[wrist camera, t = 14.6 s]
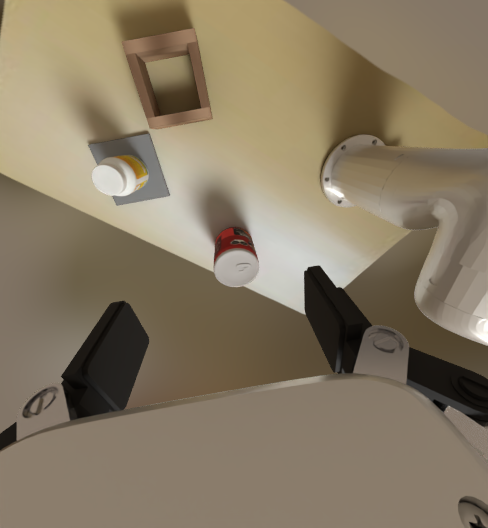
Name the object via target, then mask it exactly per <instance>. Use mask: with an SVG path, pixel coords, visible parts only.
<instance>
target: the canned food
mask: <svg viewBox="0 0 488 528" xmlns="http://www.w3.org/2000/svg"><path fill="white" fill-rule="evenodd" d="M258 272H259V261H258V258H257V254H256V251H255V248H254V244H253V241H252V238H251V236H250V235H249V233H248V232H246V231H245V230H243V229H241V228H237V227H232V228H228V229H226V230H224V231H223V232H221V233H220V234H219V236H218V237H217V239H216V243H215V254H214V273H215V276H216V278H217V279H218V280H219V281H220V282H221V283H222V284H224V285H226V286H231V287H240V286H244V285H247V284H249V283H250V282H252V281H253V280H254V279H255V278H256V276H257V274H258Z"/></svg>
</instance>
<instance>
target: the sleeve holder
mask: <svg viewBox="0 0 488 528" xmlns="http://www.w3.org/2000/svg"><path fill="white" fill-rule="evenodd" d="M122 45H123V48H124V51H125V54H126V57H127V60H128V63H129V66H130V69H131V72H132V75H133V78H134V81H135V84H136V88H137V91H138V94H139V97H140V100H141V103H142V106H143V109H144V112H145V115H146V118H147V121H148V124H149V127H150V128H151V129H162V128H167V127H172V126H178V125H183V124H189V123H194V122H199V121H205V120H210V119H213V118H212V113H211V108H210V103H209V98H208V93H207V88H206V82H205V77H204V72H203V67H202V62H201V57H200V51H199V46H198V41H197V37H196V33H195V29H194V28H192V29H186V30H181V31H176V32H170V33H165V34H160V35H154V36H149V37H144V38H138V39H133V40H128V41H122ZM188 54H190V57H191V62H192V67H193V71H194V76H195V81H196V86H197V90H198V95H199V100H200V104H201V109H196V110H190V111H185V112H179V113H174V114H169V115H163V116H161V115H160V112H159V108H158V105H157V102H156V98H155V95H154V92H153V88H152V85H151V82H150V78H149V75H148V71H147V68H146V65H145V62H151V61H156V60H161V59H167V58H172V57H177V56H183V55H188Z"/></svg>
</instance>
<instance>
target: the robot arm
mask: <svg viewBox="0 0 488 528" xmlns="http://www.w3.org/2000/svg"><path fill="white" fill-rule="evenodd" d="M372 141H373V142H372ZM341 147H342V149H341ZM325 178H326V179H325ZM321 187H322V190H323V193H324V195H325V196H326V198H327V199H328V200H329V201H330V202H332V203H333V204H335V205H337V206H341V207H353V206H358V207H360V208H362V209H364V210H366V211H368V212H370V213H372V214H374V215H376V216H378V217H380V218H382V219H384V220H386V221H388V222H390V223H392V224H394V225H396V226H398V227H401V228H404V229H409V230H424V229H429V228H434V227H438V230H437V233H436V235H435V238H434V240H433V245H432V247H431V249H430V252H429V254H428V256H427V259H426V261H425V263H424V266H423V268H422V271H421V273H420V276H419V278H418V281H417V284H416V287H415V293H414V296H415V301H416V304H417V306H418V307H419V309H420V310H421V311H422V312H423V314H425V315H426V316H427V317H428V318H429V319H431V320H432V321H434V322H435V323H437V324H438V325H440V326H442V327H444V328H445V329H447V330H449V331H452V332H454V333H456V334H458V335H461V336H463V337H465V338H468V339H470V340H473V341H476V342H478V343H481V344H484V345H487V346H488V148H484V149H444V148H421V147H399V146H385V144H384V143H383V142H382V141H381V140H380V139H379V138H377V137H375V136H372V135H356V136H352V137H350V138H347V139H346V140H344V141H343V142H341V143H340V144H339V145H337V146H336V147H335V148H334V149H333V151H332V152H331V153H330V154H329V156H328V158H327V159H326V161H325V164H324V166H323V169H322V173H321ZM304 294H305V313H306V316H307V318H308V320H309V322H310V324H311V326H312V328H313V331H314V332H315V335H316V337H317V339H318V341H319V343H320V345H321V347H322V350H323V352H324V354H325V356H326V358H327V360H328V362H329V364H330V366H331V369H332V370H333V372H337V373H338V374H333V375H322V376H316V377H309V378H303V379H296V380H290V381H284V382H278V383H272V384H266V385H260V386H255V387H249V388H243V389H237V390H232V391H226V392H220V393H214V394H208V395H204V396H197V397H192V398H186V399H181V400H175V401H169V402H164V403H158V404H153V405H147V406H142V407H137V408H131V409H125V410H124V408H125V407H126V405H127V402H128V400H129V397H130V394H131V391H132V388H133V386H134V383H135V380H136V377H137V374H138V372H139V369H140V366H141V363H142V361H143V358H144V355H145V352H146V349H147V347H148V344H149V337H148V335H147V333H146V332H145V330H144V328H143V327H142V325H141V323H140V321H139V320H138V318H137V316H136V315H135V313H134V311H133V309H132V308H131V306H130V305H129V304H128V303H126V302H125V301H119V302H113V303H111V304H110V305H109V307H108V308H107V309H106V311H105V313H104V314H103V315H102V317H101V318H100V320H99V322H98V323H97V324H96V326H95V327H94V329H93V330H92V331H91V333H90V335H89V336H88V338H87V339H86V340H85V342H84V343H83V345H82V346H81V348H80V349H79V351H78V352H77V354H76V355H75V357H74V358H73V360H72V361H71V362H70V364H69V365H68V367H67V368H66V370H65V372H64V373H63V374H62V376H61V377H62V378H63V379H64V380H63V382H62V383H61V384H60V383H52V384H49V385H46V386H44V387H42V388H41V389H39V390H38V391H36V392H35V393H34V394H32V395H31V396H30V397H29V398H28V399H27V400H26V401H25V403H24V404H23V405H22V406H21V408H20V410H19V412H18V414H17V422H15V423H14V424H13V425H11V426H10V427H9V428H7V429H6V430H5V431H3V432H2V433H1V434H0V528H488V464H487V463H486V461H485V460H484V459H483V458H482V456H483V457H484V458H486V459H487V460H488V379H486V378H485V377H483V376H481V375H479V374H477V373H475V372H473V371H470V370H467V369H465V368H462V367H460V366H457V365H454V364H452V363H449V362H447V361H444V360H441V359H439V358H436V357H434V356H431V355H428V354H425V353H423V352H420V351H418V350H415V349H413V348H410V347H409V345H408V342H407V340H406V338H405V337H404V336H403V335H402V334H400V333H399V332H398V331H396V330H394V329H392V328H389V327H386V326H372V325H371V323H370V322H369V321H368V320H367V319H366V317H365V316H364V315H363V313H362V312H361V311H360V310H359V309H358V307H357V306H356V305H355V304H354V302H353V301H352V300H351V299H350V297H349V296H348V295H347V294H346V292H345V291H344V290H343V289H342V288H340V287H339V288H336V286H335V285H334V284H333V282H332V281H331V280H330V279H329V277H328V276H327V275H326V273H325V272H324V271H323V269H322V268H321V267H320V266H313V267H308V269H307V270H306V271H305V272H304ZM471 444H472V445H474V446H475V447H476V448H477V449H479V450H480V451H482V452H483V455H482V456H481V455H480V454H479V453H478V452H477V450H476V449H475V448H474V447H473V446H472V445H471ZM458 503H459V504H458Z"/></svg>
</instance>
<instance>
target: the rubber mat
mask: <svg viewBox="0 0 488 528" xmlns="http://www.w3.org/2000/svg"><path fill="white" fill-rule="evenodd" d="M88 146H89V148H90V150H91V152H92V154H93V156H94V158H95V161H96V163H97V165H98V164H99V163H100V162H101V161H102V160H103V159H105V158H109V157H116V156H122V155H132V156H135V157H137V158H139V159H140V160H141V161H142V162H143V163H144V164H145V166H146V167H147V169H148V173H149V178H148V181H147V183H146V184H145V185H144V186H143V187H142V188H140V189H138V190H136V191H135V192H133V193H131V194H129V195H127V196H116V195H114V196H112V197H113V199H114V201H115V203H116V205H117V206H118V205H123V204H128V203H134V202H139V201H145V200H150V199H156V198H161V197H167V196H170V194H169V191H168V188H167V185H166V182H165V179H164V176H163V173H162V170H161V167H160V164H159V161H158V158H157V155H156V152H155V149H154V146H153V143H152V140H151V137H150V134H144V135H139V136H134V137H128V138H123V139H117V140H112V141H107V142H101V143H96V144H90V145H88Z"/></svg>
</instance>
